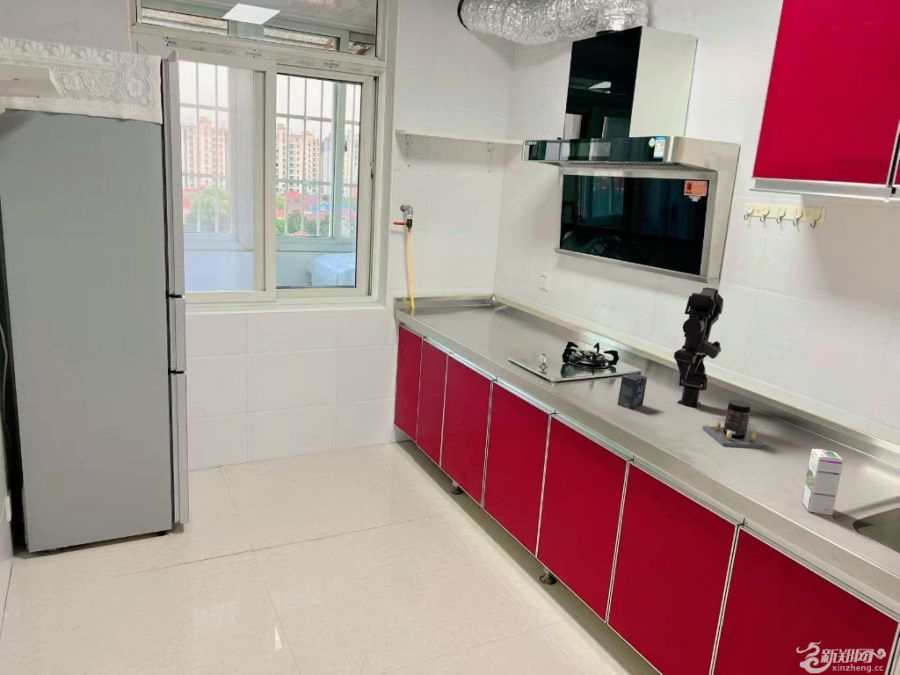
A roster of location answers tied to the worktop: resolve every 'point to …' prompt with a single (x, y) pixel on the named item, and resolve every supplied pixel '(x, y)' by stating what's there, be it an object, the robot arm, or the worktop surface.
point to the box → (632, 390)
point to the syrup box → (822, 481)
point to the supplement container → (737, 418)
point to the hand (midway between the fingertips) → (688, 377)
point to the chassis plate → (724, 440)
